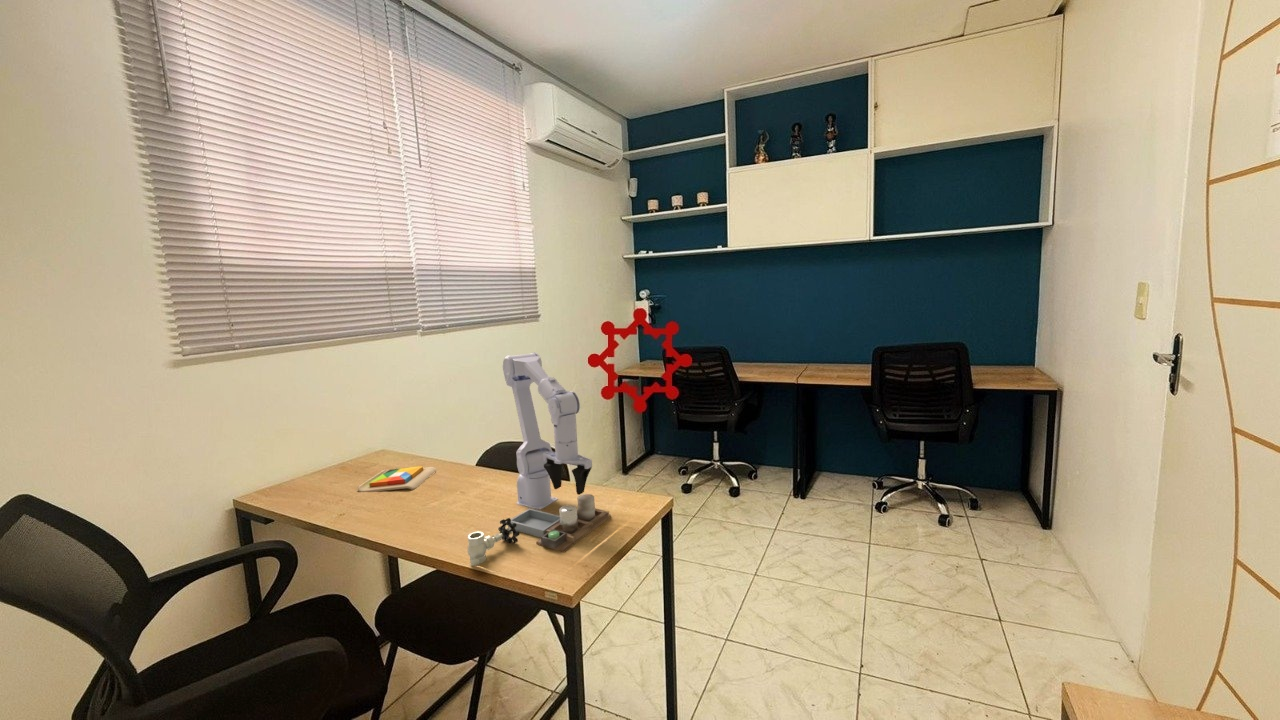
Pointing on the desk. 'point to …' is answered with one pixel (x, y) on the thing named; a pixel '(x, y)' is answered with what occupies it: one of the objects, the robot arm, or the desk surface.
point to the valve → (489, 541)
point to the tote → (534, 522)
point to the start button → (553, 535)
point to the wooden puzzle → (397, 479)
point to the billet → (568, 519)
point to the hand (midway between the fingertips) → (569, 490)
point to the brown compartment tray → (586, 523)
